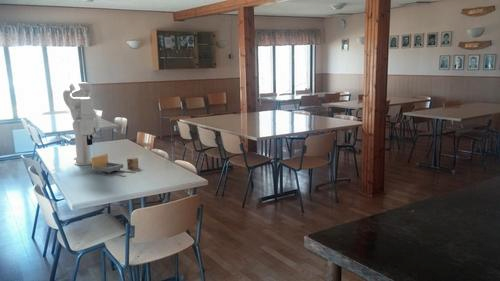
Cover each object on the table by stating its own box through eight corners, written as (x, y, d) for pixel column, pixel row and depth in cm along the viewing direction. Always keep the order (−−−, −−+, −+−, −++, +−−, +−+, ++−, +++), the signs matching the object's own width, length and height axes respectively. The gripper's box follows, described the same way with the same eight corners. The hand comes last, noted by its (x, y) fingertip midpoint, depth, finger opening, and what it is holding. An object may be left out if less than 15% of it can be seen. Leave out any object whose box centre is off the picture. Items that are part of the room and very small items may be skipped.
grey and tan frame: (92, 171, 262) (91, 157, 261) (107, 167, 274) (106, 153, 272) (109, 174, 256) (108, 159, 255) (123, 169, 268) (122, 155, 266)
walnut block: (127, 168, 273) (127, 158, 272) (132, 167, 278) (132, 157, 276) (133, 169, 271) (132, 159, 270) (138, 167, 276) (137, 157, 274)
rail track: (96, 172, 263) (96, 172, 262) (108, 169, 272) (108, 168, 272) (124, 176, 253) (124, 175, 253) (135, 172, 263) (135, 171, 263)
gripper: (74, 117, 265) (76, 145, 268) (91, 118, 259) (94, 146, 262) (83, 116, 271) (85, 143, 275) (100, 116, 265) (102, 144, 268)
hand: (89, 144), depth 268 cm, fingers closed
